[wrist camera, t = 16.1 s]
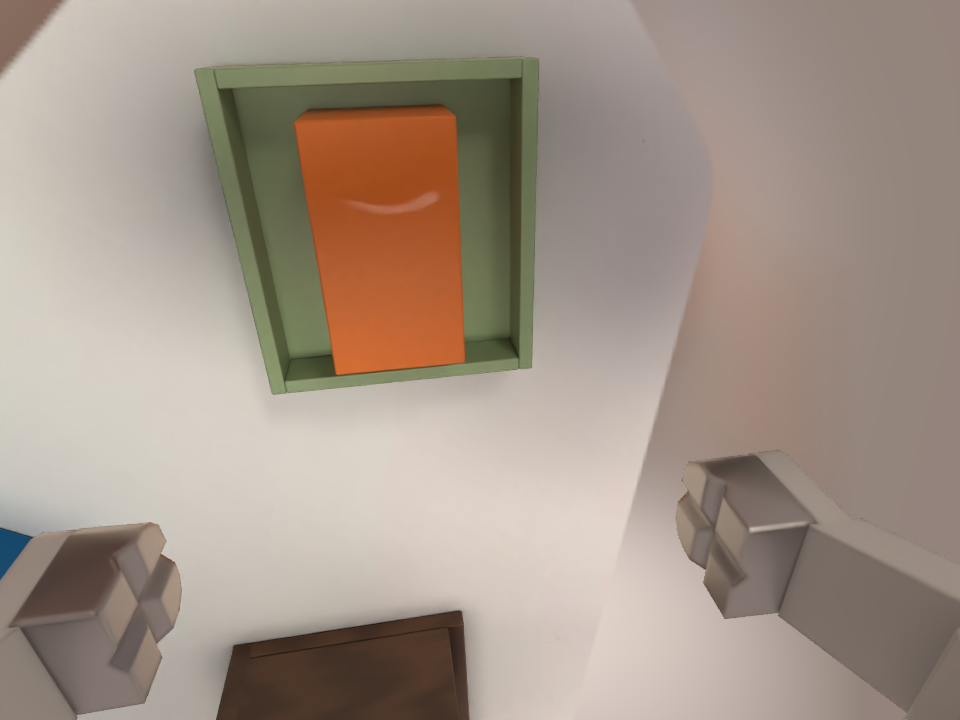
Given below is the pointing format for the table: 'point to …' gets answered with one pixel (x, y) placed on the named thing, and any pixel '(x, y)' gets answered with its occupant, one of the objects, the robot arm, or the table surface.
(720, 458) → the robot arm
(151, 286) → the table surface
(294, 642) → the shelf
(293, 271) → the tray
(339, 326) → the block
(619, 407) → the table surface
